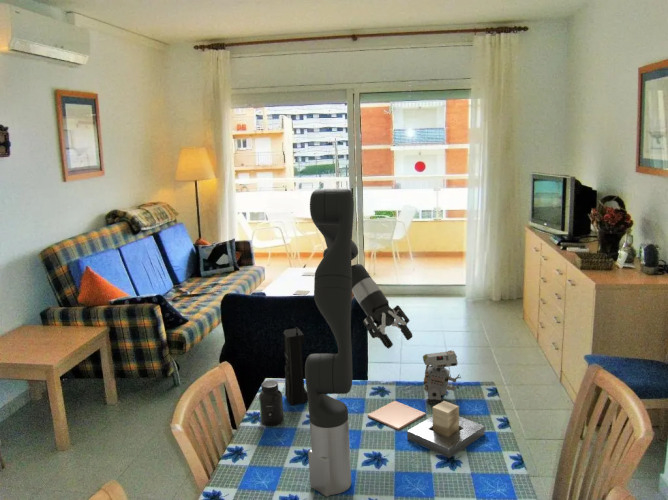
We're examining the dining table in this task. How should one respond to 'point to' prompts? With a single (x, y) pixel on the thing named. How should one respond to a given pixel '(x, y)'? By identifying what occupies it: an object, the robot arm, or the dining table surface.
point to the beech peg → (446, 419)
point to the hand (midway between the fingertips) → (400, 342)
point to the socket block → (441, 443)
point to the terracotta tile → (396, 415)
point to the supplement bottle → (271, 404)
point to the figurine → (438, 374)
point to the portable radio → (294, 367)
